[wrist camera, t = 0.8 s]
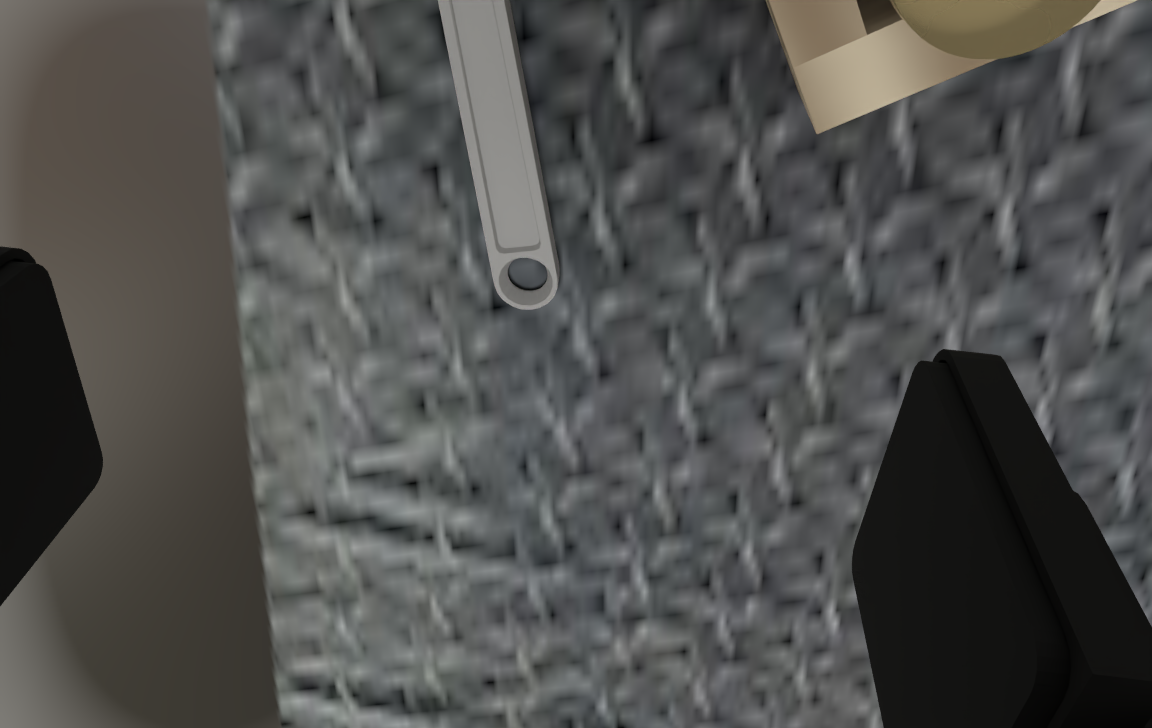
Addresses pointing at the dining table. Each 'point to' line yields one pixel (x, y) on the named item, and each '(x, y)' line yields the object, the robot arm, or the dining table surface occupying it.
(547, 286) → the adjustable wrench
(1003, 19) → the gold-capped cylinder
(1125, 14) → the dining table surface
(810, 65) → the block
